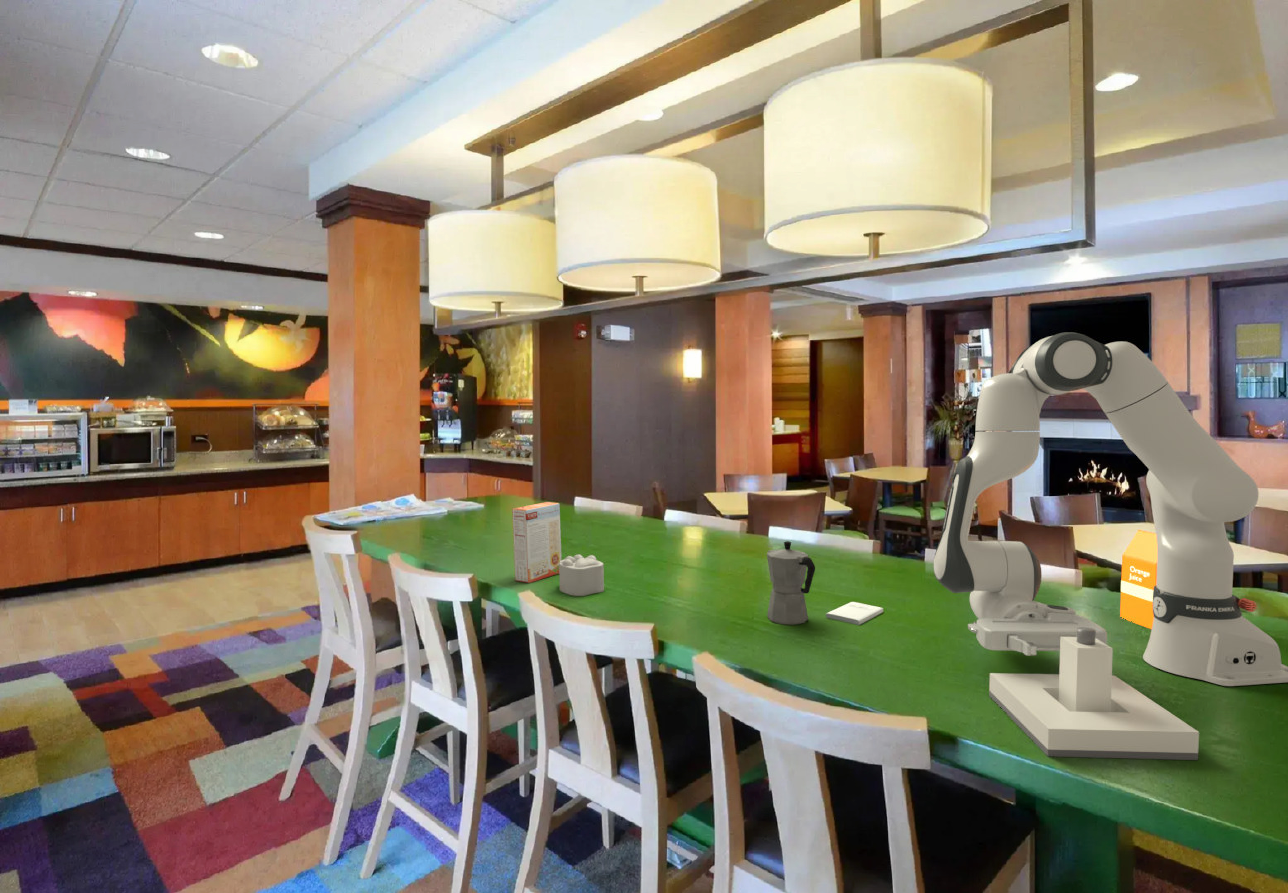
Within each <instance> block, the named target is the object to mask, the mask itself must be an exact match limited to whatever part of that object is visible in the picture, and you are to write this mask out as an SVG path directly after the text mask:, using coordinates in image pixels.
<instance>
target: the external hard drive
mask: <svg viewBox="0 0 1288 893" xmlns="http://www.w3.org/2000/svg"><path fill="white" fill-rule="evenodd" d="M882 613H884V608H883V607H881V606H880V607H879V606H875V605H869V604H865V603H861V602H858V601H857V602H856V601H850V602H849V603H846V604H844V605H842V606H839V607H837V608H836V609H833V610H830V611H829V612H826V613H825V618H826V619H830V620H834V621H839V622H843V623H847V624H848V623H849V624H853V625H856V626H860V625H861V624H864V623H867V621H869V620H871V619H873V618H874V617H877V616H878V615H880V614H882Z"/></svg>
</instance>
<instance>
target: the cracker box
mask: <svg viewBox="0 0 1288 893" xmlns="http://www.w3.org/2000/svg"><path fill="white" fill-rule="evenodd" d="M560 508H561V507H560V503H559V502H552V501H551V502H550V501H545V502H541V503H535V504H531V505H525V506H520V507H514V508H512V509H511V510H512V511H511V512H512V534H513V536H512V537H513V538H512V539H513V559H514V578H515V581H517V582H522V583H528V584H531V583H533V582H537V581H540V580H543V579H546V578H548V577H552V576H555V575H559V562H560V561H561V560H562V540H561V533H562V532H561V512H560V510H561V509H560Z"/></svg>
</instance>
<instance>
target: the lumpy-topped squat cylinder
mask: <svg viewBox="0 0 1288 893" xmlns="http://www.w3.org/2000/svg"><path fill="white" fill-rule="evenodd" d="M604 570H605V569H604V563H603V562H602V561H599V560H597V558H596V556H595V555H592V554H591V555H588V556H586V557H584V556H583V555H582V554H575V555H574V556H572V555H568V556H566V557H565V558H564V559H561V561H560V562H559V574H558V575H559V580H558V581H559V592H561V593H564V594H567V595H568V596H569V595H571V596H574V597H584V596H588V595H592V594H597V593H599V594H600V593H602V592H604V590H605V583H604V582H605V580H604V578H605V577H604V576H605V574H604V573H605V571H604Z"/></svg>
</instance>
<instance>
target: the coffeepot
mask: <svg viewBox="0 0 1288 893" xmlns="http://www.w3.org/2000/svg"><path fill="white" fill-rule="evenodd" d="M783 545H784V549H783V548H782V549H771V550H767V553H766V557H767V565H768V566H767V567H768V570H769V571H768V572H769V578H770V582H771V583H772V589H771V593H770V595H769V596H770V597H769V602H768V603H769V604H768V608H767V615H766V617H767V618H768V620H770V621H771V622H773V623H775V624H780V625H788V626H789V625H790V626H793V625H795V626H796V625H800V624H804V623H806V621H808V620H809V616H808V610H807V606H806V605H807V604H806V598H805V594H809V593H810V589H811V585H812V582H813V578H814V574H815V573H816V572H815V571H816V565H815V563H814V562H813V560H812V558H811V557H809V554H807V553H806V552H804V551H801V550H795V549H791V545H792V542H791V541H789V540H788V541H787V540H786V541H784V542H783ZM803 584H804V588H803Z"/></svg>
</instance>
